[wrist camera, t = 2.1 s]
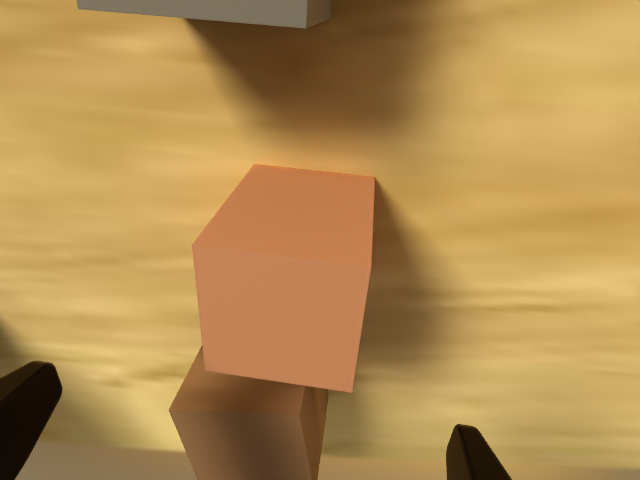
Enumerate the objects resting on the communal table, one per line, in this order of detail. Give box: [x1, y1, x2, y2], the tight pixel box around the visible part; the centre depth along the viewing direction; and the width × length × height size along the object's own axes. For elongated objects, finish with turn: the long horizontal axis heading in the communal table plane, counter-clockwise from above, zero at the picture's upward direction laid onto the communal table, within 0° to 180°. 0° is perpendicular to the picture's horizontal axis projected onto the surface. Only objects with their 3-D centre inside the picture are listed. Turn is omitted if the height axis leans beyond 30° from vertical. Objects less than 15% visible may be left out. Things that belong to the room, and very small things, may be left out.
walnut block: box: [169, 345, 328, 480], centre depth 19 cm, size 5×5×5 cm
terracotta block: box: [192, 164, 375, 393], centre depth 14 cm, size 4×4×6 cm
